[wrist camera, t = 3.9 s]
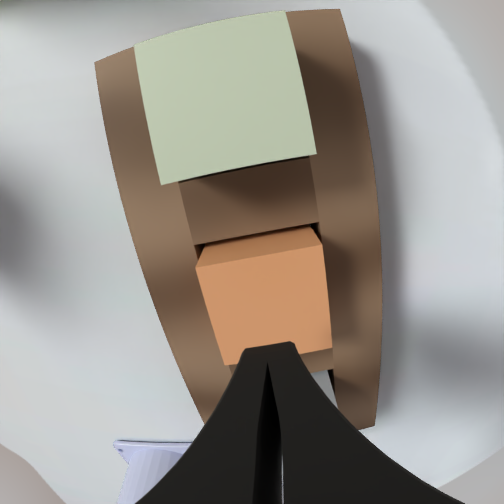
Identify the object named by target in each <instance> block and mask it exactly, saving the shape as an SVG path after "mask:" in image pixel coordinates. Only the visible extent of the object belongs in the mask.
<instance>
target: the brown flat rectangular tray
mask: <svg viewBox="0 0 504 504" xmlns="http://www.w3.org/2000/svg"><path fill="white" fill-rule="evenodd" d="M286 16H287V20H288V24H289V27H290V31H291V35H292V39H293V43H294V47H295V51H296V55H297V59H298V64H299V68H300V72H301V77H302V81H303V86H304V90H305V95H306V100H307V105H308V110H309V115H310V120H311V125H312V130H313V136H314V141H315V147H316V153H317V154H314V155H308V156H301V157H295V158H289V159H283V160H277V161H272V162H266V163H261V164H255V165H250V166H245V167H240V168H235V169H230V170H225V171H220V172H216V173H211V174H207V175H202V176H198V177H193V178H189V179H185V180H181V181H176V182H172V183H168V184H164V185H161V183H160V178H159V174H158V170H157V166H156V161H155V157H154V152H153V148H152V143H151V138H150V134H149V129H148V124H147V119H146V114H145V109H144V104H143V98H142V93H141V87H140V82H139V76H138V70H137V64H136V58H135V51H134V47H131V48H129V49H126V50H123V51H121V52H118V53H116V54H113V55H111V56H108V57H106V58H104V59H101V60H99V61H97V62H94V63H95V70H96V78H97V85H98V91H99V97H100V103H101V109H102V115H103V120H104V126H105V131H106V136H107V141H108V145H109V150H110V155H111V159H112V164H113V168H114V172H115V176H116V181H117V185H118V189H119V193H120V196H121V200H122V204H123V208H124V211H125V215H126V219H127V222H128V226H129V229H130V233H131V236H132V239H133V243H134V246H135V249H136V252H137V256H138V259H139V262H140V265H141V268H142V271H143V274H144V277H145V280H146V283H147V286H148V289H149V292H150V295H151V298H152V300H153V303H154V306H155V309H156V311H157V314H158V317H159V320H160V322H161V325H162V327H163V330H164V333H165V335H166V338H167V340H168V343H169V345H170V348H171V350H172V353H173V355H174V358H175V360H176V362H177V365H178V367H179V369H180V372H181V374H182V376H183V379H184V381H185V383H186V386H187V388H188V390H189V392H190V394H191V397H192V399H193V401H194V403H195V405H196V407H197V410H198V412H199V414H200V416H201V418H202V420H203V422H204V424H205V423H206V422H207V420H208V419H209V417H210V416H211V414H212V412H213V411H214V409H215V407H216V406H217V404H218V402H219V400H220V399H221V397H222V395H223V393H224V391H225V389H226V387H227V385H228V384H229V381H230V379H231V377H232V375H233V373H234V371H235V369H236V366H237V364H233V365H224V362H223V359H222V356H221V352H220V349H219V346H218V343H217V340H216V337H215V333H214V330H213V327H212V324H211V320H210V317H209V314H208V310H207V307H206V304H205V300H204V297H203V293H202V290H201V286H200V283H199V279H198V276H197V272H196V269H195V267H196V265H197V263H198V260H199V258H200V256H201V254H202V251H203V249H204V247H205V245H206V243H207V242H212V241H217V240H223V239H228V238H233V237H238V236H244V235H249V234H254V233H260V232H265V231H271V230H276V229H282V228H287V227H293V226H298V225H304V224H309V223H311V228H312V230H313V231H314V233H315V234H316V236H317V237H318V239H319V240H320V242H321V243H322V246H323V255H324V263H325V272H326V281H327V291H328V301H329V312H330V323H331V336H332V348H328V349H323V350H318V351H313V352H308V353H303V354H299V355H300V357H301V359H302V361H303V362H304V364H305V366H306V367H307V369H308V371H309V372H310V373H314V372H319V371H324V370H327V371H328V375H329V378H330V382H331V385H332V389H333V392H334V396H335V399H336V403H337V407H338V410H339V411H340V412H341V413H342V414H343V415H344V416H345V417H346V418H347V420H348V421H349V422H350V423H351V424H352V425H353V426H354V427H355V428H356V429H357V430H361V429H365V428H368V427H372V426H375V418H376V409H377V400H378V389H379V376H380V361H381V341H382V262H381V240H380V225H379V212H378V201H377V191H376V182H375V173H374V165H373V158H372V151H371V144H370V138H369V131H368V125H367V120H366V114H365V109H364V103H363V98H362V93H361V89H360V84H359V79H358V75H357V71H356V66H355V62H354V58H353V54H352V50H351V46H350V42H349V39H348V35H347V31H346V28H345V24H344V21H343V18H342V14H341V11H340V9H322V10H304V11H291V12H286Z"/></svg>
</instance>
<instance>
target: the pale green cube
mask: <svg viewBox="0 0 504 504" xmlns="http://www.w3.org/2000/svg"><path fill="white" fill-rule="evenodd" d="M134 51H135V58H136V64H137V70H138V76H139V82H140V87H141V93H142V98H143V104H144V109H145V114H146V119H147V124H148V129H149V134H150V138H151V143H152V148H153V152H154V157H155V161H156V166H157V170H158V174H159V178H160V183H161V185H164V184H168V183H172V182H176V181H181V180H185V179H189V178H193V177H198V176H202V175H207V174H211V173H216V172H220V171H225V170H230V169H235V168H240V167H245V166H250V165H255V164H261V163H266V162H272V161H277V160H283V159H289V158H295V157H301V156H308V155H314V154H317V153H316V147H315V141H314V136H313V130H312V125H311V120H310V115H309V110H308V105H307V100H306V95H305V90H304V86H303V81H302V77H301V72H300V68H299V64H298V59H297V55H296V51H295V47H294V43H293V39H292V35H291V31H290V27H289V24H288V20H287V16H286V12H285V10H284V11H275V12H267V13H259V14H253V15H246V16H240V17H235V18H229V19H224V20H219V21H215V22H210V23H206V24H202V25H198V26H194V27H190V28H186V29H182V30H179V31H175V32H172V33H168V34H165V35H162V36H158V37H155V38H152V39H149V40H146V41H143V42H140V43H138V44H135V45H134Z"/></svg>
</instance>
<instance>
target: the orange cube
mask: <svg viewBox="0 0 504 504" xmlns="http://www.w3.org/2000/svg"><path fill="white" fill-rule="evenodd" d="M195 269H196V272H197V276H198V279H199V283H200V286H201V290H202V293H203V297H204V300H205V304H206V307H207V310H208V314H209V317H210V320H211V324H212V327H213V330H214V333H215V337H216V340H217V343H218V346H219V349H220V352H221V356H222V359H223V362H224V365H233V364H238V362H239V359H240V357H241V354H242V352H243V351H244V349H245V348H251V347H257V346H264V345H270V344H276V343H282V342H287V341H291V342H293V343H295V346H296V348H297V351H298V353H299V354H303V353H308V352H313V351H318V350H323V349H328V348H332V336H331V323H330V312H329V301H328V291H327V281H326V272H325V263H324V255H323V246H322V243H321V242H320V240H319V239H318V237H317V236H316V234H315V233H314V231H313V230H312V228H311V227H310V225H309V224H304V225H298V226H293V227H287V228H282V229H276V230H271V231H265V232H260V233H254V234H249V235H244V236H238V237H233V238H228V239H223V240H217V241H212V242H207V243H206V245H205V247H204V249H203V251H202V254H201V256H200V258H199V260H198V263H197V265H196V267H195Z"/></svg>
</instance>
